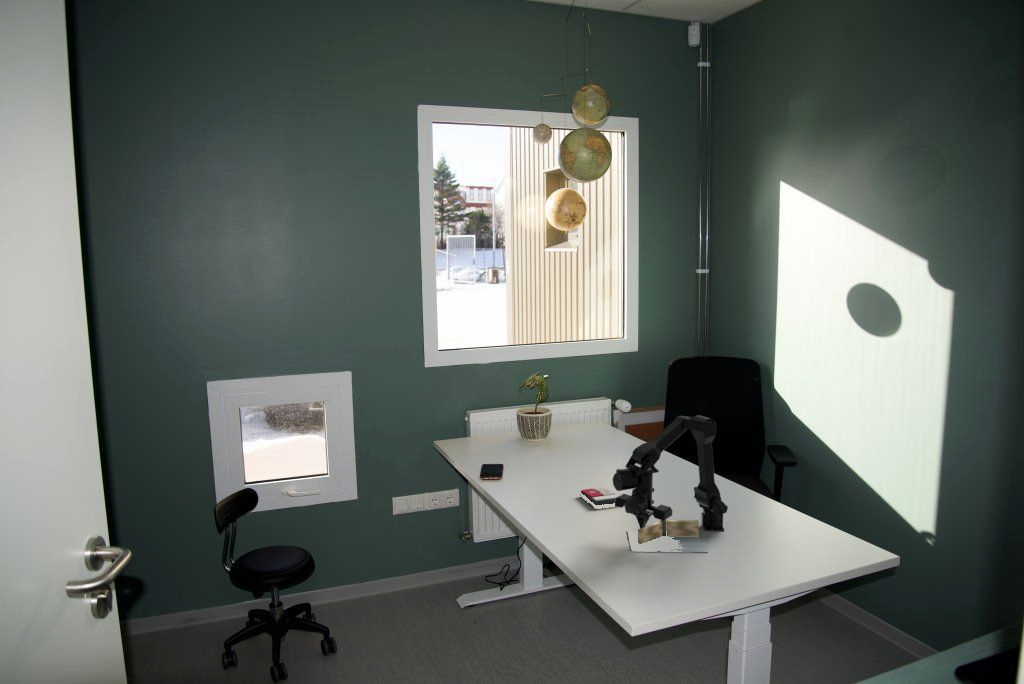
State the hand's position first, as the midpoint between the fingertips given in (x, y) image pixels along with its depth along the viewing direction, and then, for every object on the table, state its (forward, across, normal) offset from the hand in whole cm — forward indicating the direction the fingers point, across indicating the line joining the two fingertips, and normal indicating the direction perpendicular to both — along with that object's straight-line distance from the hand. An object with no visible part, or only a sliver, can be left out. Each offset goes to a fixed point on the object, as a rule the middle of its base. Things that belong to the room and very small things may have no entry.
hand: (642, 531), depth 221 cm
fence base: (+3, +8, +12) cm, 14 cm away
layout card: (+4, +6, +5) cm, 8 cm away
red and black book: (+6, -32, +23) cm, 40 cm away
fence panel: (+3, +2, +2) cm, 4 cm away
